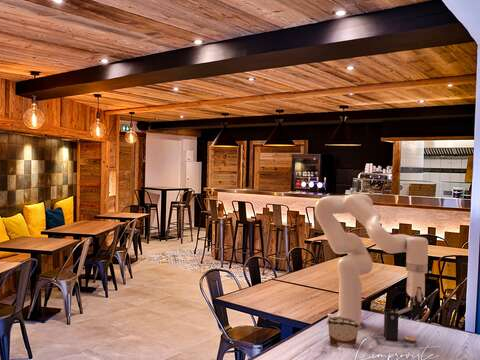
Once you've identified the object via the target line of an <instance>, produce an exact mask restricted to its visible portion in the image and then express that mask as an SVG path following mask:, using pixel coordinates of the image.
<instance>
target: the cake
mask: <svg viewBox="0 0 480 360" xmlns="http://www.w3.org/2000/svg"><path fill="white" fill-rule="evenodd" d="M402 339H403V340H402V341H404V342H405V343H408V344H416V343H417V337H416V336H413V335H407V334H406V335H403V338H402Z"/></svg>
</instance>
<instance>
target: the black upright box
mask: <svg viewBox="0 0 480 360" xmlns="http://www.w3.org/2000/svg"><path fill="white" fill-rule="evenodd" d="M391 311H393V312H391ZM397 311H398V310H396V309H389V308H384V311H383V312H384V314H383V337H384V339H385V341H389V342H396V343H397V342H399V315H400V314H399V313H396V312H397ZM398 314H399V315H398Z"/></svg>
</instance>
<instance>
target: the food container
mask: <svg viewBox="0 0 480 360" xmlns="http://www.w3.org/2000/svg"><path fill="white" fill-rule="evenodd" d="M326 325H327V326H328V337H329V338H328V339H329V346H335V347H339V344H338V343H340V344H346V345H347V344H349V345H357V341H358V335H359V333H358V332H359V329H361V326H360V325H361V324H360V325H359V323H358V322H357V321H355V320H353V319H349V318H344V317H332V318H328V319H327V321H326Z"/></svg>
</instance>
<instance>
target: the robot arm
mask: <svg viewBox="0 0 480 360" xmlns="http://www.w3.org/2000/svg"><path fill="white" fill-rule="evenodd" d="M373 205H374V202H373V200H372V198H371V197H370V196H369V195H368V194H364V193H353V194H349V195H327V196H323V197H321V198H319V199H318V200H317V201H316V203H315V205H314V206H315V207H314V216H315V219H316V221H317V223H318V224H319V226H320V228H321V230H322V231H323V233H324V236H325V239H326V240H327V242H328V244H329V246H330V248H331V250H332V251H333V253H335V254H337V255H344V256H341V258H339V259H338V262H337V265H336V266H337V267H336V268H337V275H338V311H337V312H336V313H327V318H328V319H329V318H332V317H344V318H349V319H353V320H355V321H357V322H358V323H359V325H361V324H362V295H363V294H362V293H363V287H362V281H361V277H360V276H363V275H367V274H370V273H371V272H372V270H373V268H374V267H373V266H374V265H373V259H372V258H371V256H370V253H369V252H368V249H367V247H366V245H365V243H364V242H363V240H362V239H361V237H359V235H357V234H356V233H354V232H346V231H345V230H344V227H343V226H342V224H341V222H340V221H339V220H338V219H337V218H336V217H335V215H338V214H350V215H351V216H352V217H353V218H354V219H355V220H356V221H358V223H360V224H361V225H362V226H363V227H364V228H365V231H366V233H367V236H368V237H369V239H370V240H371V241H372V243H374V244H375V245H376V247H378V248H379V249H381V250H382V251H383V252H385V253H387V254H398V253H399V254H401V253H406V256H405V257H406V258H405V271H406V272H407V275H406V287H405V288H406V289H405V291H406V294H407V295H408V296H409V297H410V301H409V307H410V306H411V304H412V303H413V304H412V310H409V312H410V313H411V314H412V316H422V310H423V308H422V307H423V305H422V303H423V302H422V301H423V300H422V299H424V298H425V294H426V276H425V275H426V274H428V267H429V266H428V264H429V261H428V260H429V241H428V239H427V238H426V237H422V236H412V235H408V234H405V233H398V234H397V233H396V234H391V233H390V232H389V231H388V230H386V229H385V228H384V227H383V226H382V224H381V223H380V221H381V218H382V215H381V213H380V212H379V211H377V210H376V209H375V208H374V207H373ZM345 254H347V255H345Z"/></svg>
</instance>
